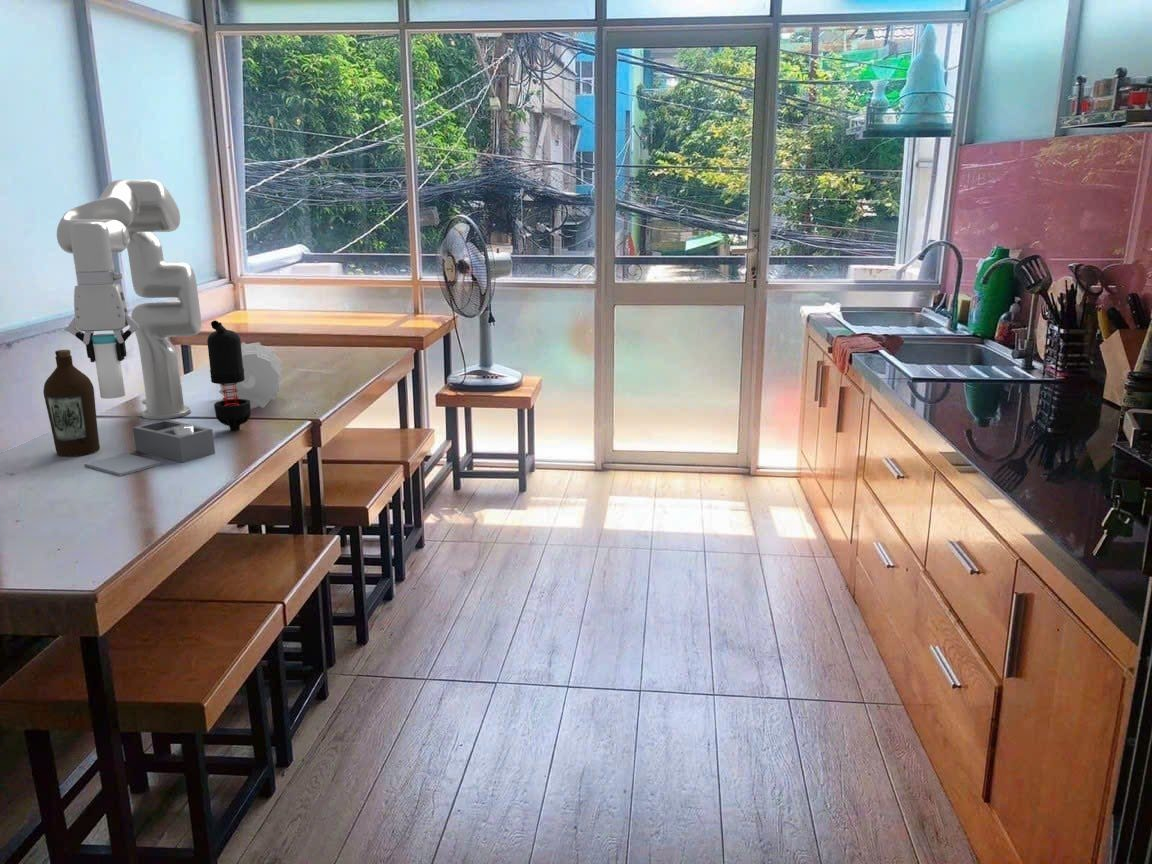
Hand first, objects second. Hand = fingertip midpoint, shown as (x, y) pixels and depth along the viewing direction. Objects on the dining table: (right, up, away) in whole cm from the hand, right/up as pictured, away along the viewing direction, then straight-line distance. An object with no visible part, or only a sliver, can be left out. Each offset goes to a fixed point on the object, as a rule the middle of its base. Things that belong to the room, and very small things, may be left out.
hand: (107, 359), depth 202 cm
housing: (+8, -21, +17) cm, 28 cm away
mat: (0, -24, +7) cm, 25 cm away
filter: (+15, -16, +38) cm, 43 cm away
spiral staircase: (+9, -8, +66) cm, 67 cm away
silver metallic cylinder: (+12, -20, +14) cm, 27 cm away
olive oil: (-17, -21, +18) cm, 32 cm away
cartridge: (0, -8, +2) cm, 8 cm away
